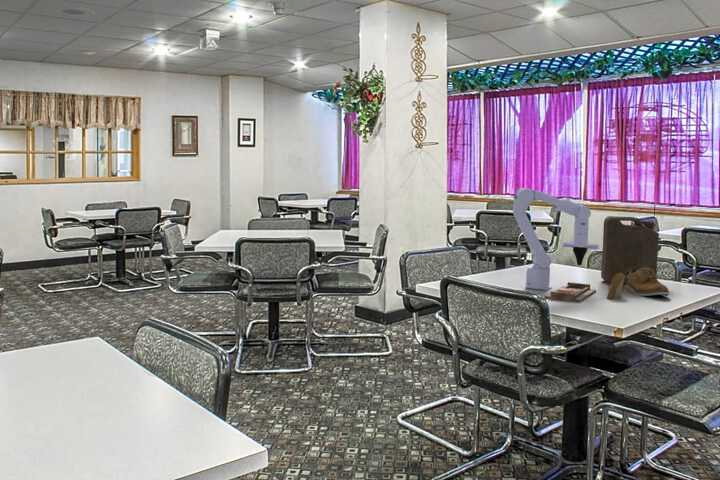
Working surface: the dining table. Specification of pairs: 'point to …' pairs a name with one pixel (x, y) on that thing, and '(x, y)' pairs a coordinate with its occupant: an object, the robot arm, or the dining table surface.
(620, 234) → the container
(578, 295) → the slider track
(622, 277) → the rock
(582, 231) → the robot arm
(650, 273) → the oxford shoe
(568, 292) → the slider knob
